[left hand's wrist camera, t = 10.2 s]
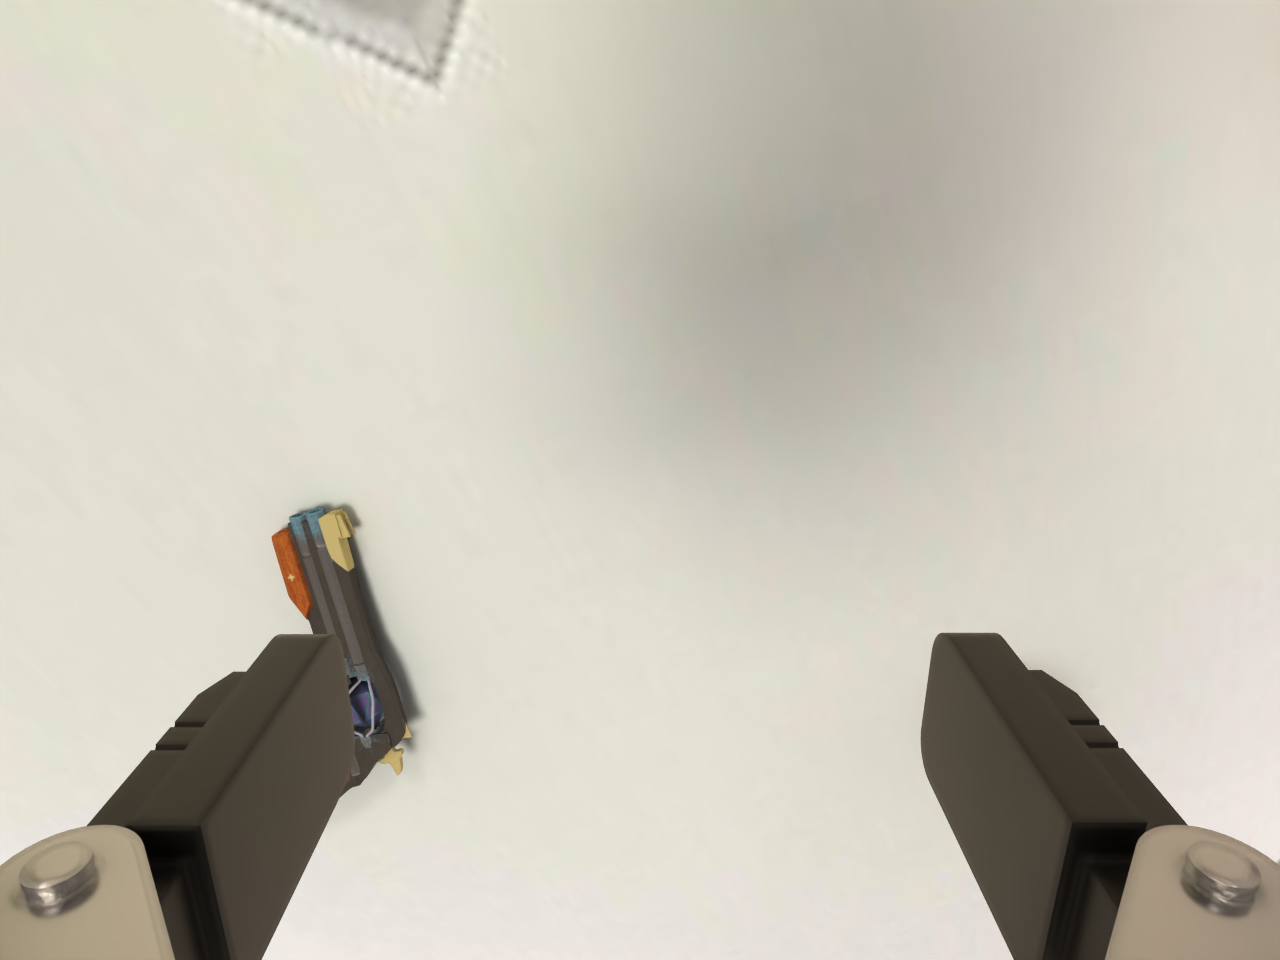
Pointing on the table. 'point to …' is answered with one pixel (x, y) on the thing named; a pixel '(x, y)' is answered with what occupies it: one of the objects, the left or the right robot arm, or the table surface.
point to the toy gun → (344, 630)
